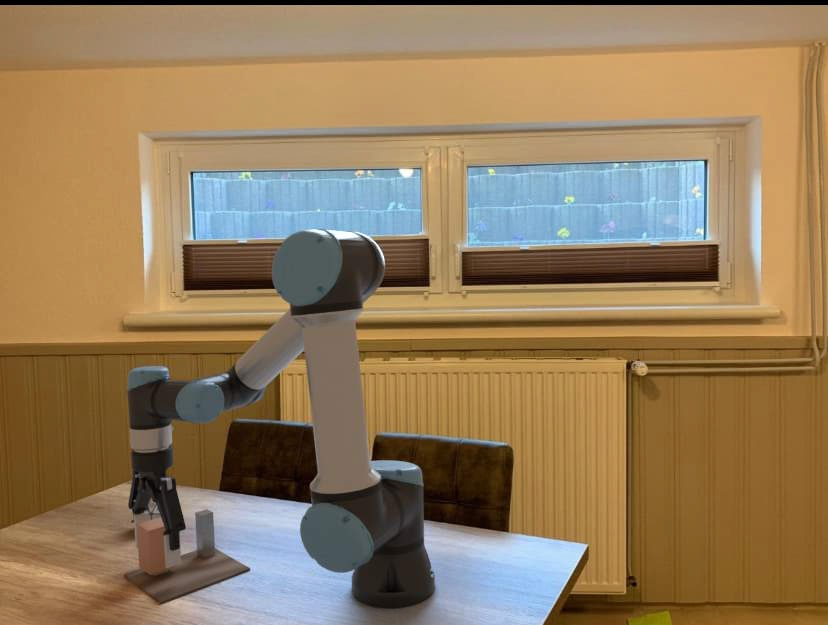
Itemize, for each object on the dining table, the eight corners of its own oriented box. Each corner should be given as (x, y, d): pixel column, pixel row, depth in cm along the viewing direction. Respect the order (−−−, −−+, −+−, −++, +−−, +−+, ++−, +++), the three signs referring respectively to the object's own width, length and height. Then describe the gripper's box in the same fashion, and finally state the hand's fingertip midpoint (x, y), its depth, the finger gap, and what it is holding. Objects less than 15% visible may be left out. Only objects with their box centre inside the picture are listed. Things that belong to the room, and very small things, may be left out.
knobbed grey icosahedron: (160, 542, 156) (184, 508, 155) (129, 542, 149) (154, 506, 148) (145, 515, 161) (168, 482, 160) (114, 514, 154) (138, 479, 153)
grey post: (215, 555, 138) (213, 512, 138) (203, 559, 137) (201, 515, 136) (209, 551, 140) (206, 509, 140) (197, 555, 138) (195, 512, 138)
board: (250, 570, 132) (250, 568, 132) (160, 604, 119) (160, 601, 119) (210, 547, 143) (210, 545, 143) (124, 576, 131) (124, 574, 131)
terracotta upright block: (176, 566, 131) (174, 523, 131) (150, 575, 128) (148, 530, 127) (165, 558, 135) (163, 516, 134) (139, 567, 131) (136, 523, 131)
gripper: (201, 454, 124) (206, 567, 125) (144, 433, 141) (149, 532, 143) (161, 464, 118) (167, 581, 120) (107, 440, 136) (113, 543, 137)
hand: (157, 555), depth 131 cm, fingers open, 13 cm apart
